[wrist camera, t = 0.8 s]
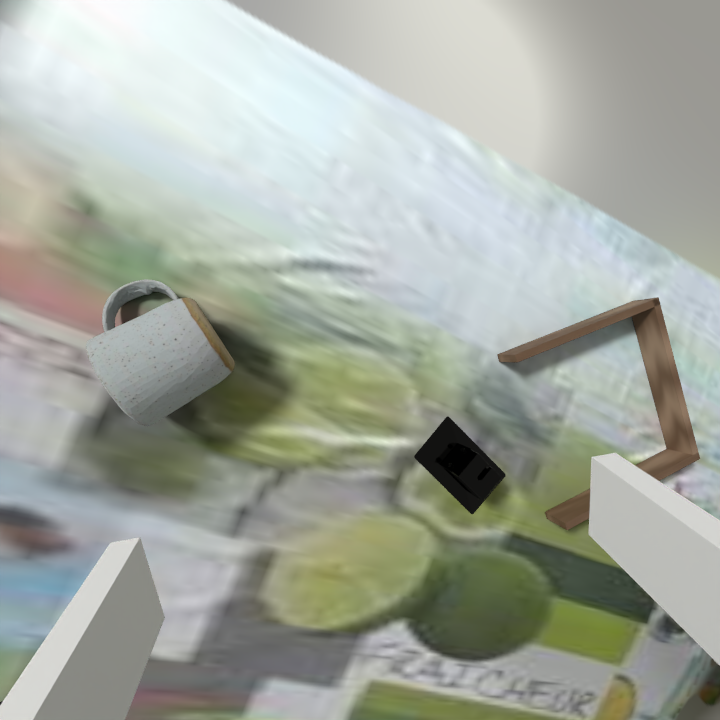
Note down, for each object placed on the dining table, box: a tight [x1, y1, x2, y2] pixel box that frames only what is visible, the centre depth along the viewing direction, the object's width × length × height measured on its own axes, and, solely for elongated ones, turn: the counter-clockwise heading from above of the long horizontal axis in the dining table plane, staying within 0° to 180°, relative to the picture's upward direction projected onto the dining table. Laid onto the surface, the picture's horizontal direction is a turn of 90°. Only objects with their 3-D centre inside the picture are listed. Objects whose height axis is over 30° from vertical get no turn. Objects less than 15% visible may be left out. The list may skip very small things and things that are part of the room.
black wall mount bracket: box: [415, 417, 505, 514], centre depth 40 cm, size 12×7×5 cm, turn 46°
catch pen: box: [498, 298, 700, 530], centre depth 44 cm, size 19×19×3 cm
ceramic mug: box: [86, 280, 235, 426], centre depth 31 cm, size 11×8×8 cm
